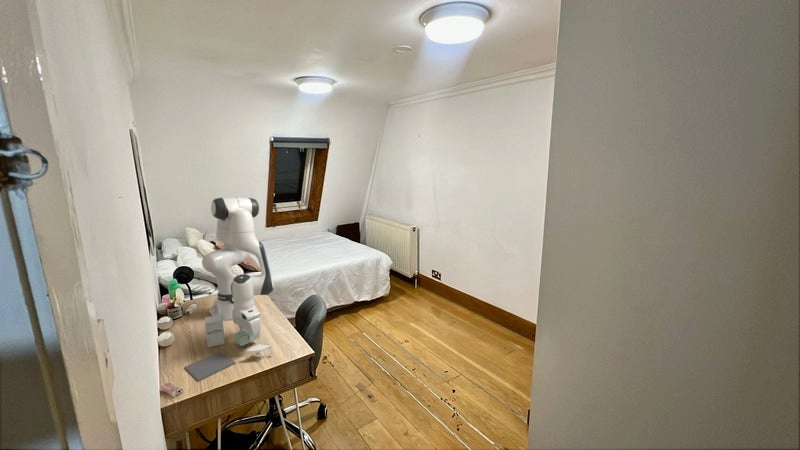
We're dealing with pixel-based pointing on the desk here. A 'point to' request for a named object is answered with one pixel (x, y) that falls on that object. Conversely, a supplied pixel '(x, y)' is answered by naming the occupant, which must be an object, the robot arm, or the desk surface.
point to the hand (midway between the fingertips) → (247, 336)
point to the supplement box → (214, 330)
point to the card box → (244, 337)
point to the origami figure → (258, 350)
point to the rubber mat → (209, 365)
